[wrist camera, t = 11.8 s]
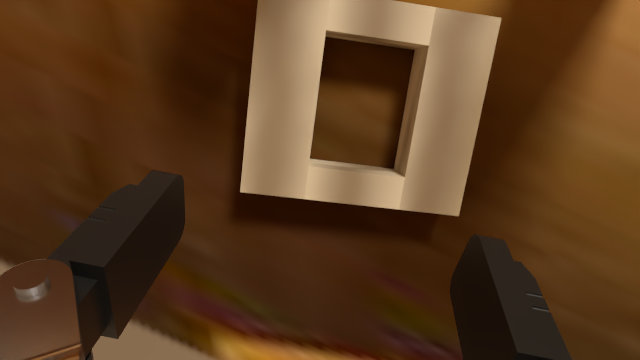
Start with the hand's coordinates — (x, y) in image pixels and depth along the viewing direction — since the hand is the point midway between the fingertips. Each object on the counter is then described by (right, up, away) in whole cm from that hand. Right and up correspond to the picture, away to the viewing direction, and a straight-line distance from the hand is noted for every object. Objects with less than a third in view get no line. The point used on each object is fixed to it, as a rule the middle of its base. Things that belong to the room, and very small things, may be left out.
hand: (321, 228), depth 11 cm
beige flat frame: (+3, +7, +17) cm, 19 cm away
